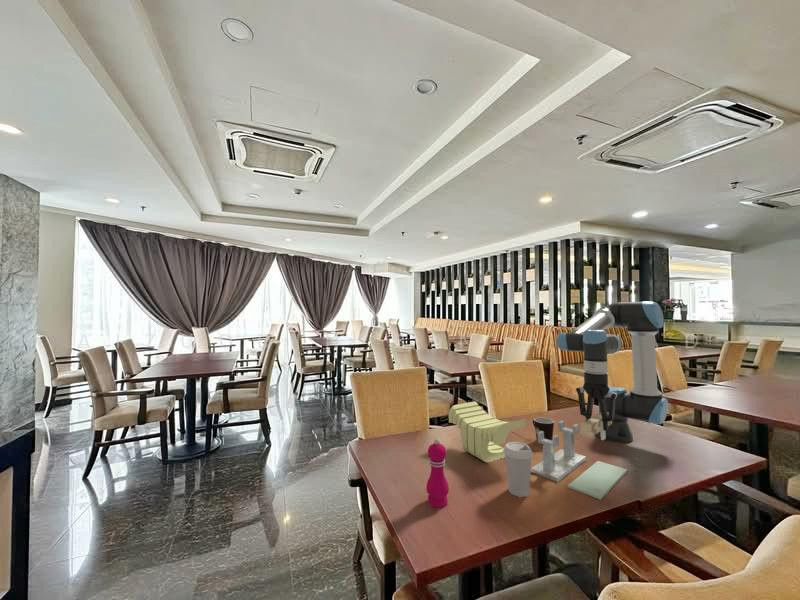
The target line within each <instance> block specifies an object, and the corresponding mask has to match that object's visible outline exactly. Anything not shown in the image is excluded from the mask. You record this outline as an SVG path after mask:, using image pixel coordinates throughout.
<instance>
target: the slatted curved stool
mask: <svg viewBox="0 0 800 600" xmlns="http://www.w3.org/2000/svg"><path fill="white" fill-rule="evenodd" d="M448 423H451V424H454V425H456V427H458V429H459V430H460V436H461V442H462V448H463V450H464V451H465V452H467V453H469V454H471V455H472V456H474V457H476V458H477V459H479V460H481V461H482V462H485V463H490V461H491V462H494V461H493V460H495V461H498V460H501V459H500V458H502V459H504V457H505V454H504V452H503V450H504V447H502V446H501V445H504V444H506V440H507V437H508V435H509V434H511V432H513V431H514V430H518V429H519V428H522V427H526V426H527V418H522V419H519V420H514V421H502V420H500V419H498V418H495V417H494V416H492V415H490V414H489V413H487V411H486V410H483V407H481V406H480V405H479V404H478V403H477V401H469V402H465V403H459V404H455V405H452V406H451V407H450V409H449V410H448ZM497 459H498V460H497Z"/></svg>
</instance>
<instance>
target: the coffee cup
mask: <svg viewBox="0 0 800 600" xmlns="http://www.w3.org/2000/svg"><path fill="white" fill-rule="evenodd" d="M503 448H504V450H503V452H504V454H505V459H504V460H505V469H506V474H507V475H506V477H507V485H508V488H507V489H508V492H509V493H510V494H511V495H513V496H515V497H519V498H520V497H521V498H526V497H528V496H529V495H530V485H531V473H532V472H531V468H532V458H533V456H534V453H533V450H532V449H531V446H530V445H527V444H526V443H522V442H519V441H512V442H507V443H505V446H504V447H503Z"/></svg>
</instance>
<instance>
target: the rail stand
mask: <svg viewBox="0 0 800 600" xmlns="http://www.w3.org/2000/svg"><path fill="white" fill-rule="evenodd" d="M558 432H562V435H563V436H562V437H563V441H562V442H563V449H562V448H560V449H559V450H556V452H555V448H556V447H558V446H560V437H559V435H557V434H555V435H553V437H552V440H548V439H545V438H544V432H543V431H540V432H538V442H539V443H542V444H541V445H542V461H540V462H538V463H537V464H535V465H534V466H531V472H530V473H533V474H534V475H537V474H538V476H540V477H543V478H545V479H547V480H548V479H549V480H551V481H554V482H557V483H559V482H560V481H562V479H564V478H565V477H566V476H568V475H569V474H571V473H572V472H574V470H575V469H577V468H579V466H581V465H582V464H583V463H584V461H585V462H586V461H587V456H585V455H583V454H579V453H576V452H575V436H576V435H578V434H579V424H578V423H575V424H573V425H572V428H568V427H566V426H565V421H564V420H561V421H558ZM538 442H537V443H538ZM539 443H538V444H539Z"/></svg>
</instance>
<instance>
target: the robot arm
mask: <svg viewBox="0 0 800 600" xmlns="http://www.w3.org/2000/svg"><path fill="white" fill-rule="evenodd" d="M664 322H665V320H664V314H663V310H662V308H661V306H660V305H659V304H658V303H657V302H655V301H645V300H644V301H627V302H626V301H624V302H623V301H621V302H618V301H617V302H613V303H611V304H607V305H604V306H603V307H601V308H599V309H597V310H596V311H594V313H593V314H592V316H591V317H589V318H588V319H587V320H585V321H584V322H582V323H581V324H580V325H578V326H577V327H576V328H574V329H573V330H571V331H570V332H560V333H558V335H557V337H556V346H557V348H558V349H559V350H561V351H566V352H577V353H578V352H581V353H583V371H584V372H583V381H584V382H583V385H582V386H580V387H576V388H575V391H576V393H577V398H578V403H579V412H580V415H581V416H584V417H585V419H586V420H588V419H590V418H592V417H593V410H594V409H593V408H594V402H595V399H597V401H598V414H599V413H601V415H602V420H601V421H600V432H598V433H597V434H595V435H596V436H597V437H598V436H599V437H598V438H600V437H601V438H600V440H601V441H604V440H607V441H609V440H610V442H614V441H615V442H616V443H630V442H632V441H633V439H634V438H633V432H632V429H631V428H630V425H629V423H628V419H631V420H634V421H640V422H645V423H648V424H655V425H661V424H663V423H664V422H665V420H666V417H667V415H668V409H669V402H668V398H666V397H663V393H662V392H661V391H660V390H659V389H658V376H657V375H658V374H657V356H656V335H657V334H658V333H659V331H660V329H661V328H663V327H664ZM612 327H613V328H615V327H619V328H620V327H621V328H626V332H627V333H628V334H630V335H631V353H632V355H631V356H632V373H633V374H632V376H633V377H632V378H633V387H632V388H631V389H629V392H628V390H627V388H625V387H618V386H617V387H616V386H615V387H614V386H612V387H611V386H610V387H609V374H608V371H609V369H608V355H612V354H613V355H614V353H615V354H616V353H618V351H620V350H621V348H622V341H621V339H620V338H619V336H617V335H615V334H611V333H607V332H606V330H608V329H611V328H612ZM585 393H586V395H587V401H586V399H585ZM586 402H587V404H586ZM607 412H609V413H608V414H607ZM586 420H585V421H586ZM608 421H612V424H611V425H609V426H608ZM591 438H594V436H592V437H591Z"/></svg>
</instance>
